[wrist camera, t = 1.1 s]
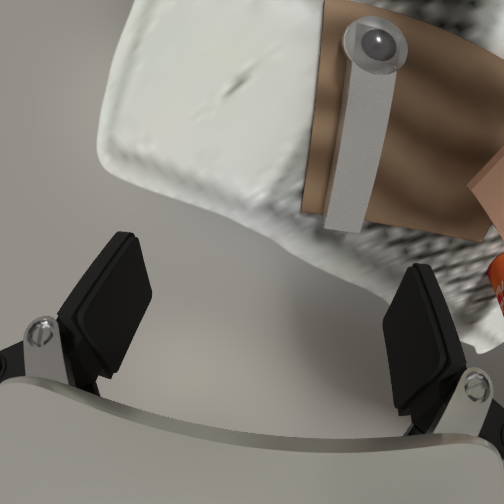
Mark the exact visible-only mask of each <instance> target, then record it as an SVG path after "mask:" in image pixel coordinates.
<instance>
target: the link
mask: <svg viewBox="0 0 504 504" xmlns="http://www.w3.org/2000/svg"><path fill="white" fill-rule="evenodd" d="M340 43H341V49H342V52H343V54H344V56H345V57H346V58H347V62H346V71H345V79H344V87H343V95H342V102H341V109H340V116H339V123H338V129H337V136H336V142H335V148H334V154H333V160H332V166H331V171H330V177H329V182H328V187H327V193H326V198H325V203H324V208H323V221H324V228H325V229H332V230H339V231H346V232H353V233H359V234H360V231H361V227H362V224H363V221H364V217H365V214H366V210H367V207H368V203H369V200H370V196H371V192H372V189H373V185H374V181H375V177H376V173H377V169H378V165H379V161H380V156H381V152H382V148H383V143H384V139H385V134H386V129H387V124H388V119H389V114H390V109H391V103H392V98H393V92H394V86H395V80H396V73H397V70H399V69H400V68H401V67H402V66H403V64H404V63H405V61H406V58H407V54H408V46H407V42H406V39H405V37H404V35H403V33H402V32H401V30H400V29H399V28H398V27H397V26H396V25H395V24H393V23H392V22H390V21H389V20H387V19H385V18H382V17H378V16H366V17H362V18H359V19H357V20H355V21H353V22H352V23H350V24H349V25H347V26H346V27H345V29H344V30H343V32H342V35H341V40H340Z"/></svg>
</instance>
